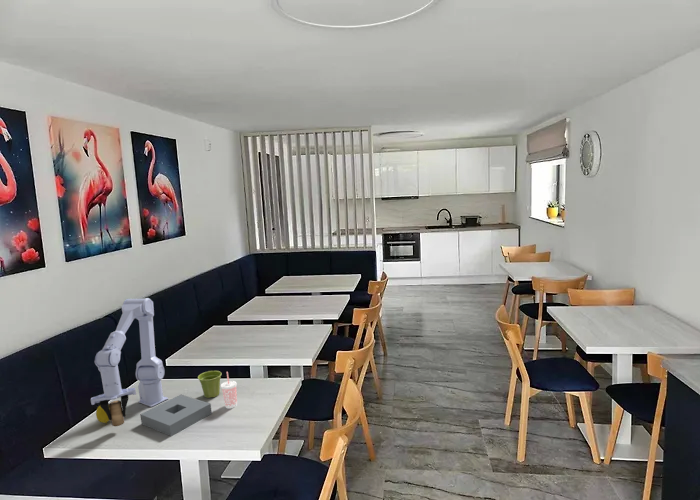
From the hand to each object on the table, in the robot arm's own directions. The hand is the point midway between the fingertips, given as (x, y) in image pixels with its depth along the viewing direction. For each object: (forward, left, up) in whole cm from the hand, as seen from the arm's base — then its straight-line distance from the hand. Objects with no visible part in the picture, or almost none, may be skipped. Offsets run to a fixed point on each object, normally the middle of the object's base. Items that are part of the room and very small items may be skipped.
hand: (117, 417), depth 176 cm
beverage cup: (+23, +33, -6) cm, 41 cm away
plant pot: (+8, +36, -6) cm, 37 cm away
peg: (0, 0, -2) cm, 2 cm away
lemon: (-11, +1, -6) cm, 12 cm away
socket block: (+12, +16, -6) cm, 21 cm away
